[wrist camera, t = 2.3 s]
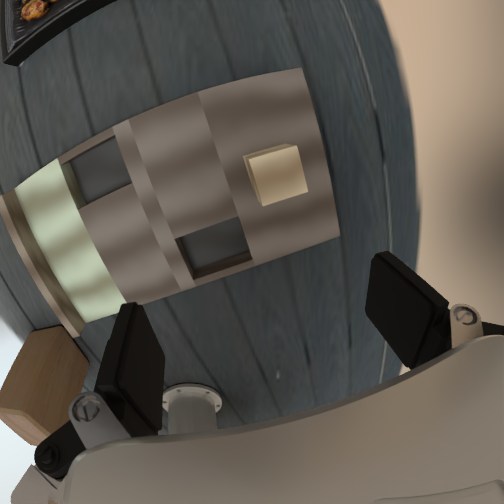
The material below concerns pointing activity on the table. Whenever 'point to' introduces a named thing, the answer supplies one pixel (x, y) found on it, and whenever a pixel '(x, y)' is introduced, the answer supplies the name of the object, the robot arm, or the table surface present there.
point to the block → (42, 384)
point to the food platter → (38, 23)
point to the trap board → (170, 200)
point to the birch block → (276, 173)
